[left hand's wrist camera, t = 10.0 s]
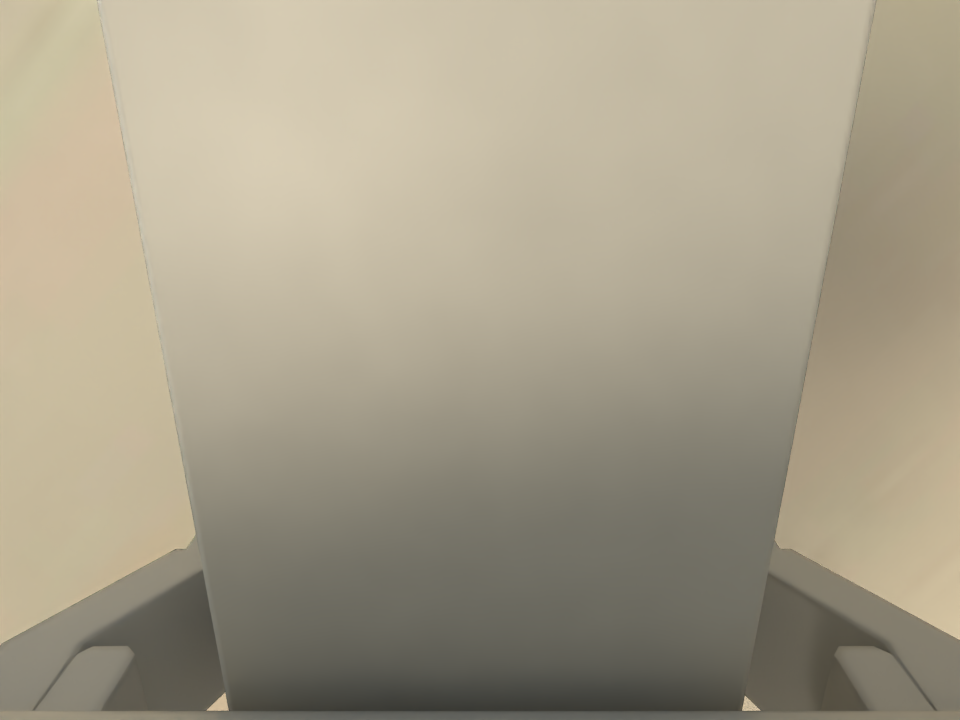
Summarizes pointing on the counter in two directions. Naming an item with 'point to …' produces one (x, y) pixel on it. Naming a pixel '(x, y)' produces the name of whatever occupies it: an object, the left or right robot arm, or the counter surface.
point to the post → (486, 331)
